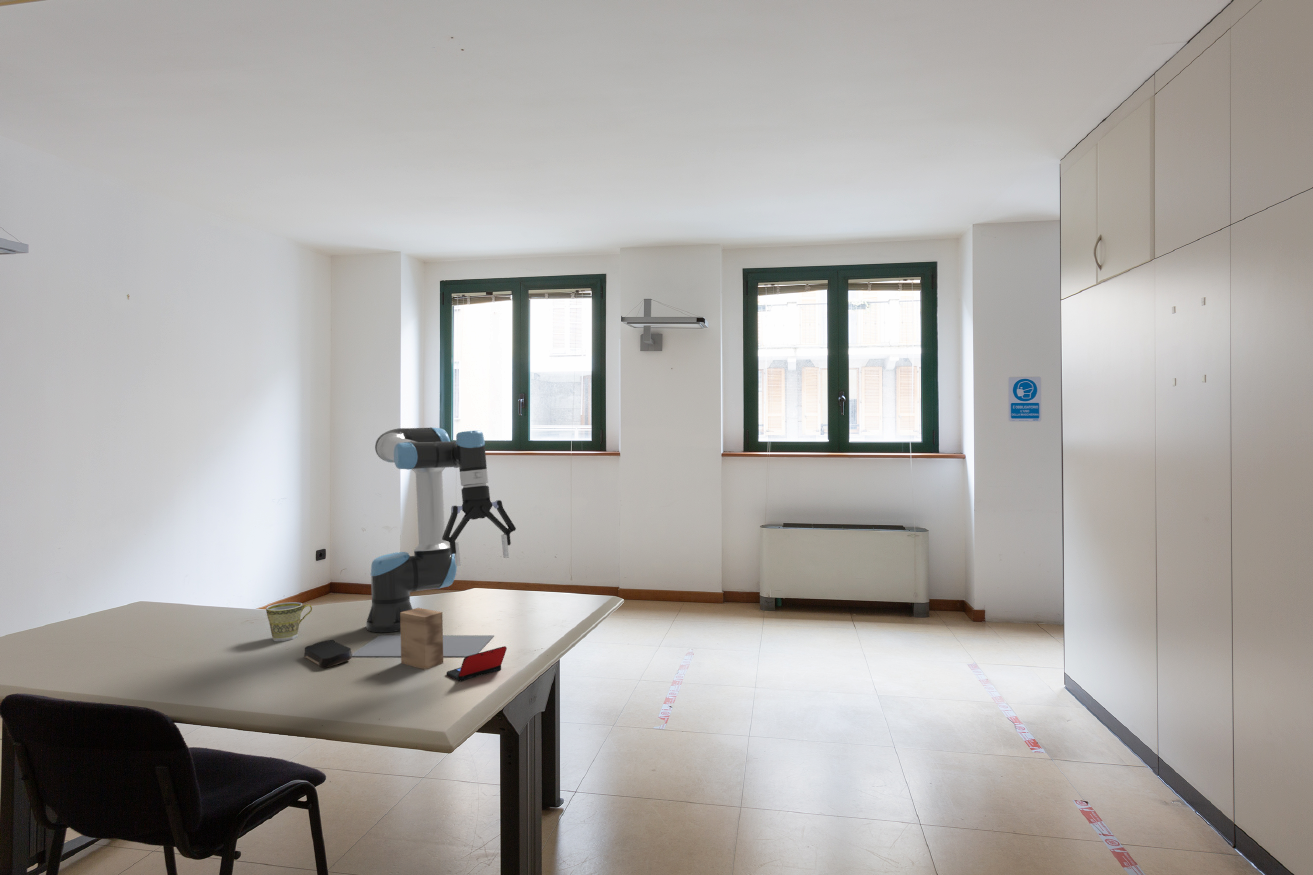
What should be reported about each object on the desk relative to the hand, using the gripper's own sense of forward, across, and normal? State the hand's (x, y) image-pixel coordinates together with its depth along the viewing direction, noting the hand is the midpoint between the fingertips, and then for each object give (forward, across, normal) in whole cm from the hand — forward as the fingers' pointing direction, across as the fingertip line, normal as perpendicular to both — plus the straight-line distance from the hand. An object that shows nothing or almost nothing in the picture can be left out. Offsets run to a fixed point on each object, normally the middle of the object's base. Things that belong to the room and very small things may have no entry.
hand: (482, 561), depth 202 cm
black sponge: (+23, -40, +24) cm, 52 cm away
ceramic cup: (+20, -48, +53) cm, 74 cm away
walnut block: (+26, -18, +6) cm, 32 cm away
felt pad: (+24, -14, +22) cm, 35 cm away
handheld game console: (+28, -7, -10) cm, 31 cm away
